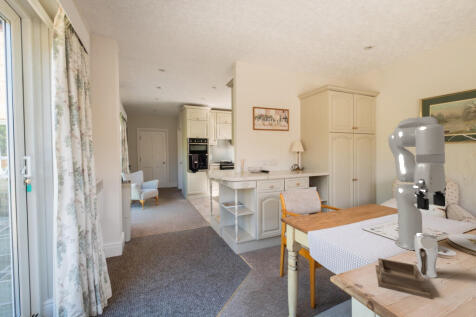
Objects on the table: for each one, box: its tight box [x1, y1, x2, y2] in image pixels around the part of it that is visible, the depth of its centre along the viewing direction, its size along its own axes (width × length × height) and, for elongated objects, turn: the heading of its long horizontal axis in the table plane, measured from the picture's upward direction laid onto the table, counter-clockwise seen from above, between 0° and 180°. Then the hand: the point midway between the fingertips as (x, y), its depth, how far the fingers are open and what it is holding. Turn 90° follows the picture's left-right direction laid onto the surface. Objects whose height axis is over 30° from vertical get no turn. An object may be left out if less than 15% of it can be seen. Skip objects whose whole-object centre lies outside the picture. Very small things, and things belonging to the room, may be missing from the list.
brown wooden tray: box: [375, 257, 432, 300], centre depth 75 cm, size 14×14×5 cm
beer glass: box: [414, 232, 439, 279], centre depth 80 cm, size 7×7×15 cm
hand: (431, 207), depth 72 cm, fingers open, 9 cm apart
